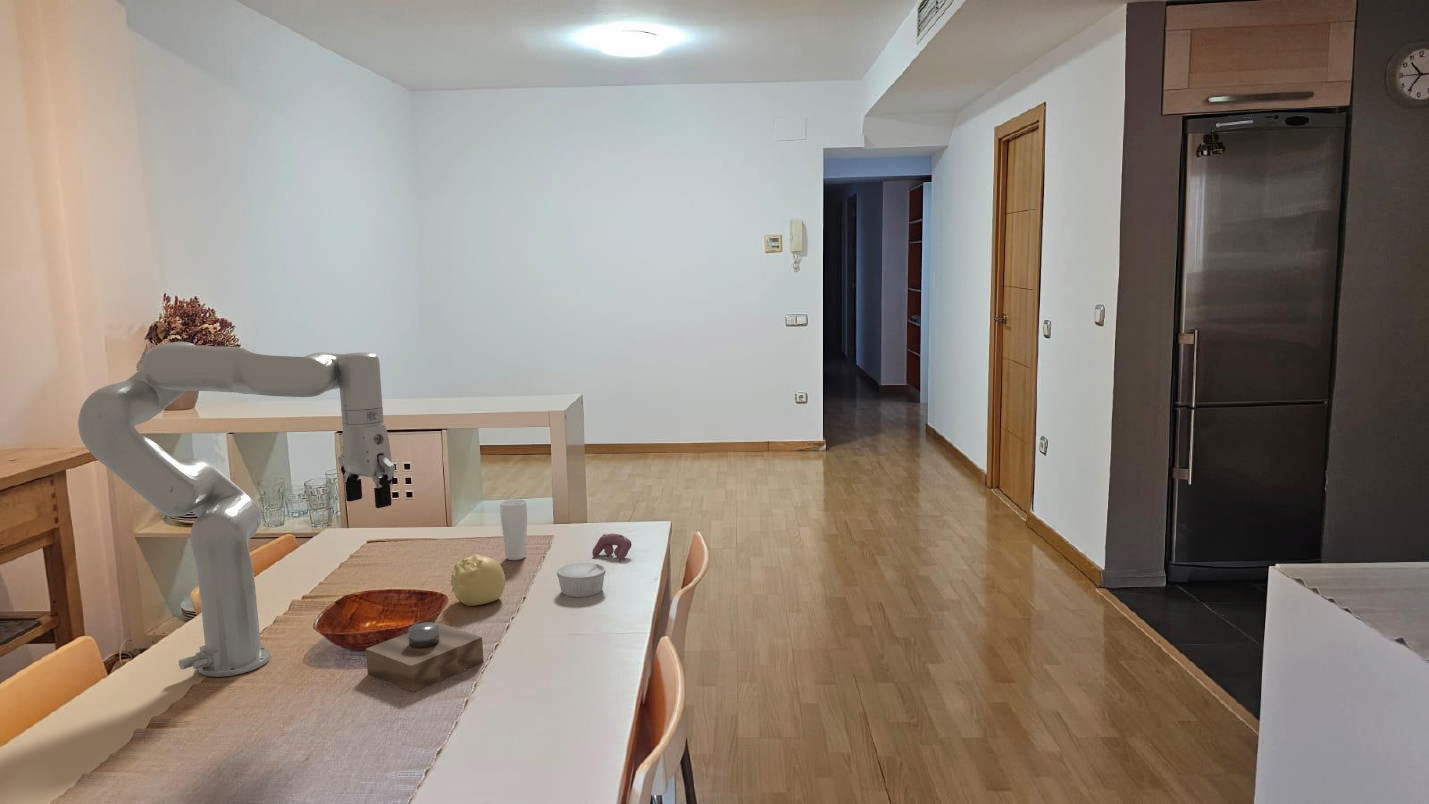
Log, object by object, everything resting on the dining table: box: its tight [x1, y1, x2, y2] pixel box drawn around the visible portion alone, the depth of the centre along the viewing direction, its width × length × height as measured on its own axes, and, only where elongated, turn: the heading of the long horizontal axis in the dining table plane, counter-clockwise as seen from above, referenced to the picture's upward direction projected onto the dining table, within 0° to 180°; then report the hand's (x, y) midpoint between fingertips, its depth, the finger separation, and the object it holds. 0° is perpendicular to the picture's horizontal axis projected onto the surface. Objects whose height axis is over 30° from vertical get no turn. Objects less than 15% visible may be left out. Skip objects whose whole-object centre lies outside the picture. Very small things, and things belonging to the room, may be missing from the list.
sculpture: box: [450, 553, 506, 607], centre depth 216 cm, size 12×12×11 cm
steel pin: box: [407, 621, 440, 649], centre depth 180 cm, size 6×6×8 cm
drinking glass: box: [499, 498, 528, 561], centre depth 248 cm, size 7×7×15 cm
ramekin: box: [556, 562, 606, 598], centre depth 222 cm, size 11×11×5 cm
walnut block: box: [365, 621, 485, 693], centre depth 180 cm, size 16×14×5 cm
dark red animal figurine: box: [591, 533, 632, 562], centre depth 249 cm, size 10×5×7 cm, turn 59°
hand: (368, 503), depth 185 cm, fingers open, 9 cm apart
